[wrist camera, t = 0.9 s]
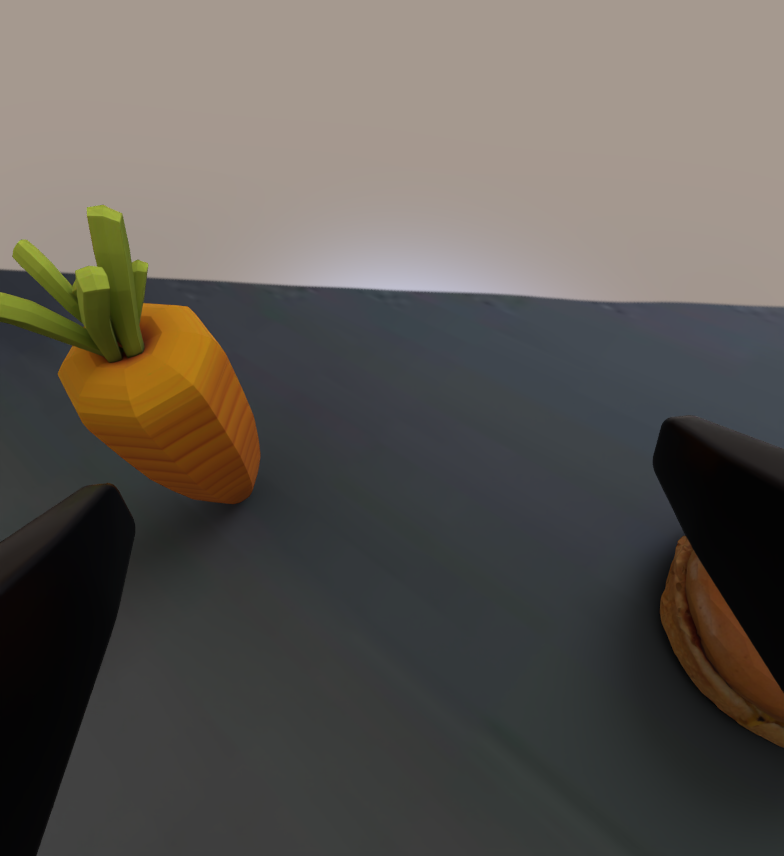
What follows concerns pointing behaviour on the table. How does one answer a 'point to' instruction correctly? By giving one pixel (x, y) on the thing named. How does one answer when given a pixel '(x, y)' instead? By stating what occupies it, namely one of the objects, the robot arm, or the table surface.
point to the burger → (718, 648)
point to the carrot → (143, 370)
